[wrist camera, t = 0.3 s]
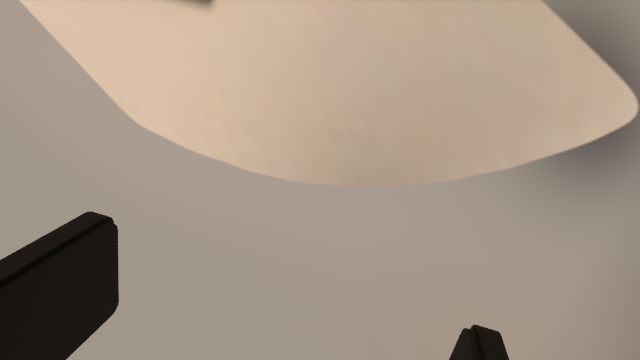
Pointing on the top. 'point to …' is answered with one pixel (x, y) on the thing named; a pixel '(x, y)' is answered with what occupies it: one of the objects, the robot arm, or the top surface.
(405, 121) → the top surface
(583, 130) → the top surface
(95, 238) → the robot arm
